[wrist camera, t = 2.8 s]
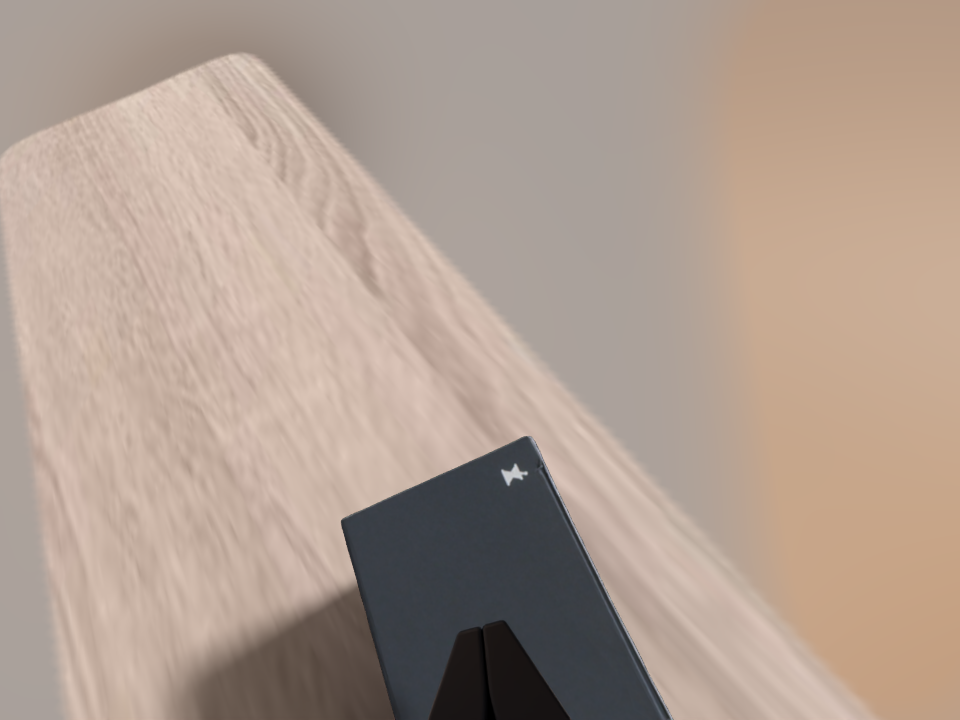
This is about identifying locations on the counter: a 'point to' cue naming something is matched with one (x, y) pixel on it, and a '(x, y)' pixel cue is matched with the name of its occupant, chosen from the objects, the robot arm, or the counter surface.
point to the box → (493, 587)
